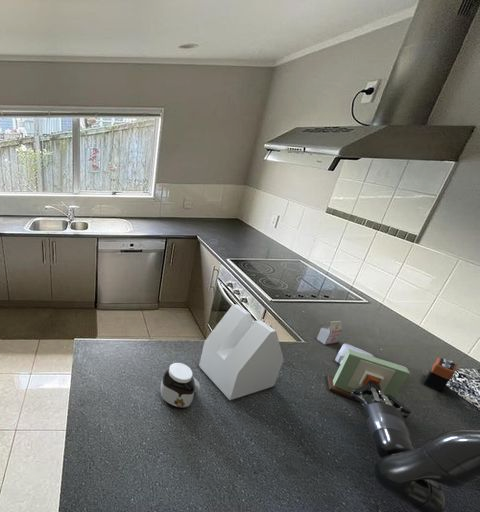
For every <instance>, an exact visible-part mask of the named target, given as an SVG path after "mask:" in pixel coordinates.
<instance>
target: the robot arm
mask: <svg viewBox="0 0 480 512" xmlns="http://www.w3.org/2000/svg"><path fill="white" fill-rule="evenodd" d="M365 394H368V396H366V397H364V398H363V397H362V396H363V395H365ZM350 397H351V398H353V399H355V398H357V399H358V400H359V401H361V402H359V403H360V405H361V407H363V411H364V415H365V418H366V423H367V426H368V429H369V432H370V435H371V436H372V439H373V441H374V442H373V443H374V445H375V448H376V451H377V453H378V456H379V459H378V461H376V463H375V464H374V467H373V475H374V478H375V480H376V481H377V483H378V484H379V485H380V486H381V487H382V488H384V489H385V490H386V491H387V492H388V493H390V494H391V495H393V496H395V497H396V498H397V499H399V500H400V501H402V502H403V503H405V504H407V505H408V506H409V507H410V508H412V509H414V511H417V512H445V511H446V510H447V509H446V508H447V497H446V494H445V492H444V489H443V488H442V486H441V485H443V486H446V487H447V488H451V489H461V488H464V487H465V486H468V485H469V484H472V483H473V482H475V481H478V480H479V479H480V429H454V430H449V431H446V432H444V433H441V434H439V435H438V436H436V437H434V438H432V439H431V440H430V441H428V442H426V443H425V444H424V445H422V446H421V447H419V448H416V447H415V445H414V443H413V440H412V439H413V438H412V435H411V432H410V430H409V428H408V425H407V423H406V421H405V419H408V418H409V416H410V414H411V413H412V410H410V409H409V408H407V407H406V406H405V405H404V404H403V403H402V402H400V401H399V400H398V399H397V398H396V397H395V398H394V397H393V396H391V395H389V394H387V395H386V394H384V392H383V391H382V390H381V388H380V386H379V385H378V384H377V382H374V381H371V380H370V382H369V381H368V383H367V385H366V386H362V387H359V388H356V389H354V390H353V391H352V393H351V395H350ZM351 398H350V399H351ZM353 399H352V400H353ZM390 401H392V403H391V402H390ZM440 484H441V485H440Z"/></svg>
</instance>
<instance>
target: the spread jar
mask: <svg viewBox="0 0 480 512" xmlns="http://www.w3.org/2000/svg"><path fill="white" fill-rule="evenodd" d="M160 382H161V383H160V396H161V398H162V400H163V401H164V402H165V403H166V404H168V405H169V406H170V407H172V408H176V409H186V408H188V407H189V406H191V404H192V403H193V400H194V396H195V393H198V392H200V390H201V384H200V383H199V381H198V379H196V378H195V377H194V376H193V371H192V369H191V368H190V367H189V366H188V365H186V364H184V363H182V362H174V363H171V364H170V366H169V368H168V369H167V370H165V371H164V373H163V375H162V378H161V381H160Z"/></svg>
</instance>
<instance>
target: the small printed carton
mask: <svg viewBox="0 0 480 512" xmlns="http://www.w3.org/2000/svg"><path fill="white" fill-rule="evenodd" d="M342 334H343V320H335V321H334V320H333V321H328V322H327V323H326V324H324V325H323V326H321V328H320V330H319V332H318V335H317V337H316V340H317V341H319V342H320V343H322V344H323V345H325V346H326V345H333V344H337V343H338V342H339V340H340V338H341V336H342Z"/></svg>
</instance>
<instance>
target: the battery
mask: <svg viewBox="0 0 480 512" xmlns="http://www.w3.org/2000/svg"><path fill="white" fill-rule="evenodd" d="M457 366H458V365H457V364H456V363H454V361H452V360H451V359H450V358H442V357H437V358H436V360H435V361H434V363H433V364H432V366H431V368H430V369H429V371H428V373H427V374H426V376H425V378H424V380H423V384H424V385H426V386H428V387H429V388H431V389H434V390H436V391H438V392H442V391H443V390H444V389H445V387H446V386H447V384H448V383H449V381H450V380H451V379H452V377H453V376H454V374H455V372H456V369H457Z"/></svg>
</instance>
